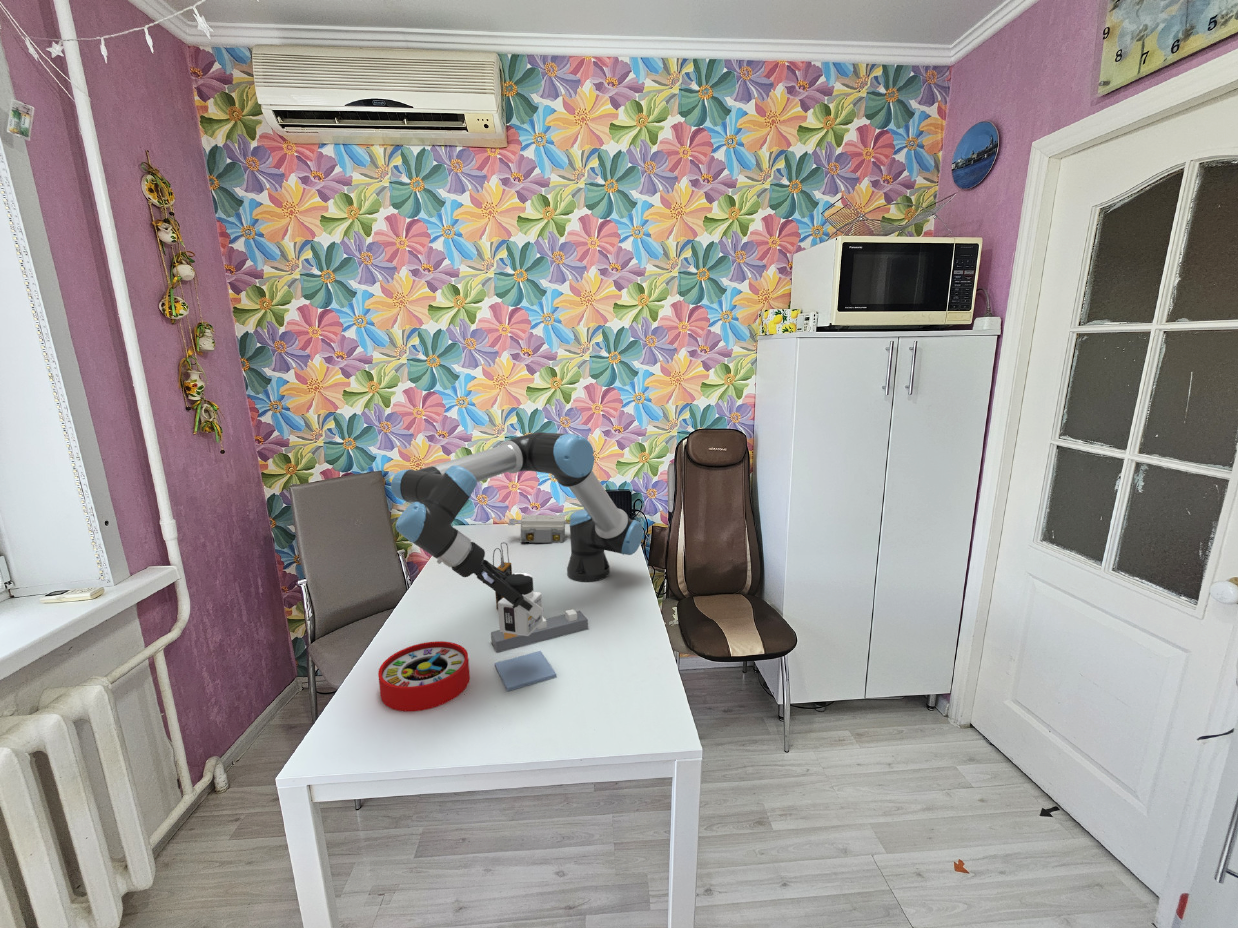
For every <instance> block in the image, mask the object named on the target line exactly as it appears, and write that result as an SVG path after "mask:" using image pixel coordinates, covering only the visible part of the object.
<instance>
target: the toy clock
mask: <svg viewBox="0 0 1238 928" xmlns="http://www.w3.org/2000/svg"><path fill="white" fill-rule="evenodd" d="M377 676H378V685H379V693H380V700H381V702H382V703H383V704H384V705H385V706H386V707H388V708H389V709H391V710H395V711H399V712H420V711H422V712H423V711H425V710H426V711H427V710H431V709H433V708H436V707H440V706H441V705H444V704H446V703H449V702H451V701H452V700H454V699H455V698H458V696H459V695H460V694H462V693H463V692H464V691H465V690H466V689H467V687H468V686H469V684H470V680H471V675H470V663H469V654H468V651H467V649H466V648H465V647H464V646H462V645H460V644H457V643H455V642H451V641H441V640H440V641H426V642H422V643H421V642H420V643H417V644H413V645H410V646H408V647H405V648H402V649H400V650H399V651H396V652H395V653H393V654H391V655H390V656H389V657H387V658H386V659H385V660H384V661H383V662H382V664H381V665H380V667H379V668H378V671H377Z"/></svg>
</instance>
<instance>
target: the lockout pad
mask: <svg viewBox="0 0 1238 928" xmlns="http://www.w3.org/2000/svg"><path fill="white" fill-rule="evenodd" d="M494 667H495V669H496V672H497V673H498V676H499V677H500V680H501V682H502V684H503V686H504V687H505V690H506V691H507V692H510V691H513V690H517V689H521V688H523V687H527V686H530V685H534V684H537V683H542V682H545V681H548V680H551V679H555V678H557V676H558V675H557V673H556V671H555V669H554V668H553V667H552V665H551V664H550V662H549V661H548V660H547V658H546V657H545V655H544V654H543V652H542V650H537V651H534V652H531V653H527V654H523V655H519V656H516V657H513V658H512V657H511V658H509V659H503V660H502V661H498V662H494Z"/></svg>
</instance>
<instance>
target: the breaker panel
mask: <svg viewBox="0 0 1238 928" xmlns="http://www.w3.org/2000/svg"><path fill="white" fill-rule="evenodd" d="M564 611H565V613H564V614H560V615H556V616H551V617H546V618H545V617H544V616H543V615H542V617H543V621H542V623H541V624H540V625H539V626H538V627H537V628H536V629H535V630H534V631H533V632H532V633H531V634H530V635H529V636H523V635H517V634H511V633H504V632H500V629H498V630H493V631H491V632H490V638H491V639H490V640H491V641H490V642H491V644H492V646H493V648H494V650H495V652H496V653H501V652H505V651H509V650H513V649H516V648H520V647H524V646H528V645H532V644H535V643H539V642H543V641H547V640H551V639H554V638H560V637H562V636H566V635H571V634H574V633H579V632H581V631H585V630H589V619H588V618H587V617H586V616H585V615H584V613H583V612H582V611H581V610H577V611H576V610H575V609H573V608H572V609H568V610H564Z"/></svg>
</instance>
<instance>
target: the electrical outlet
mask: <svg viewBox="0 0 1238 928" xmlns="http://www.w3.org/2000/svg"><path fill="white" fill-rule="evenodd" d="M508 520H509V521H508V522H507V525H508V526H515V525H520V543H521V542H529V543H536V544H537V543H542V544H544V543H550V544H551V543H560V544H561V543H564V542H565V541H566V540H565V538H566V537H565V536H566V525H570V519H567V518H566V519H565V515H562V514H561V515H560V514H558V515H553V514H552V515H551V514H549V515H548V514H547V515H544V514H543V515H540V514H539V515H538V514H537V515H536V514H535V515H534V514H529V515H528V514H527V515H526V514H522V515H521V519H517V518H510V519H508Z"/></svg>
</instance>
